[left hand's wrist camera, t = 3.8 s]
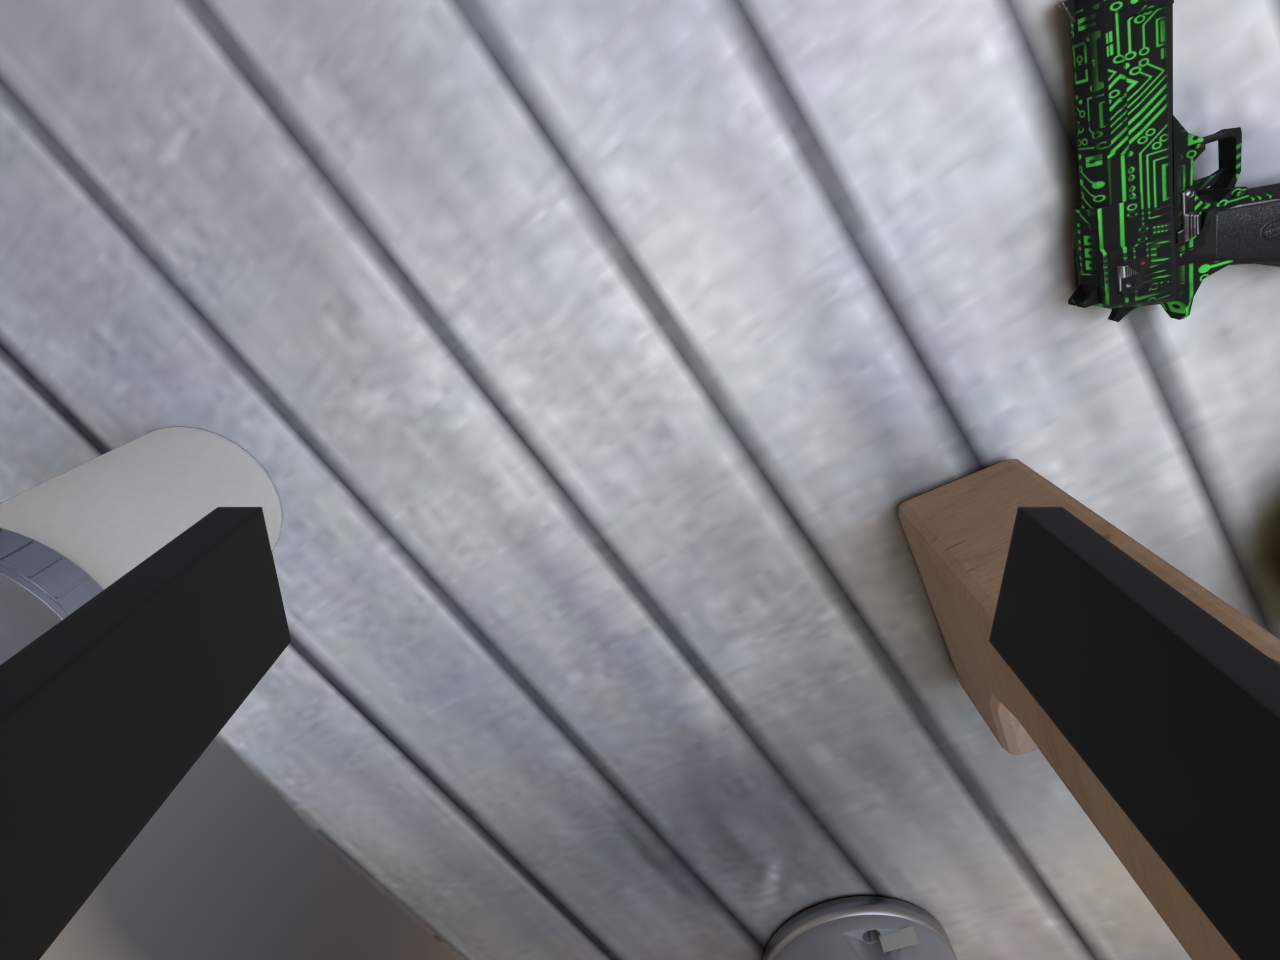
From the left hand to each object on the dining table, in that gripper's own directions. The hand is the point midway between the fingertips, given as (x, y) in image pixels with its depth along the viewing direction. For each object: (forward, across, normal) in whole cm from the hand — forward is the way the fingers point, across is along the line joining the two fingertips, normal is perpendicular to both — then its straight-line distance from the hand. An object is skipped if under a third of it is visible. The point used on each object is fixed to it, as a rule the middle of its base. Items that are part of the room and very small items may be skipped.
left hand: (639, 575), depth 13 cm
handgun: (+28, +28, +8) cm, 40 cm away
